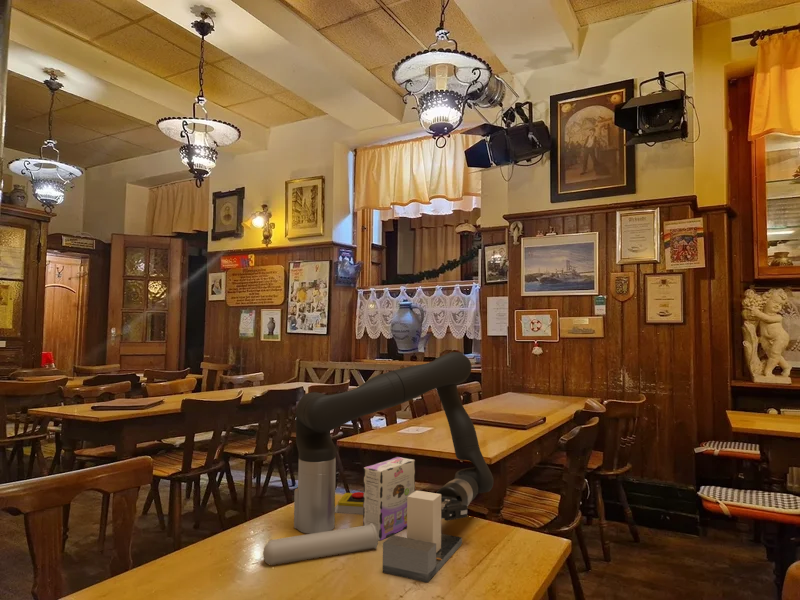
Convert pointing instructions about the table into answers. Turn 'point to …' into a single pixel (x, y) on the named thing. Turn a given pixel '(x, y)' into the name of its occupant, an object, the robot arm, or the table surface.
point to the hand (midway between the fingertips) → (428, 519)
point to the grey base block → (417, 556)
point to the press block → (424, 517)
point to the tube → (320, 544)
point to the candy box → (388, 495)
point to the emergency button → (351, 503)
